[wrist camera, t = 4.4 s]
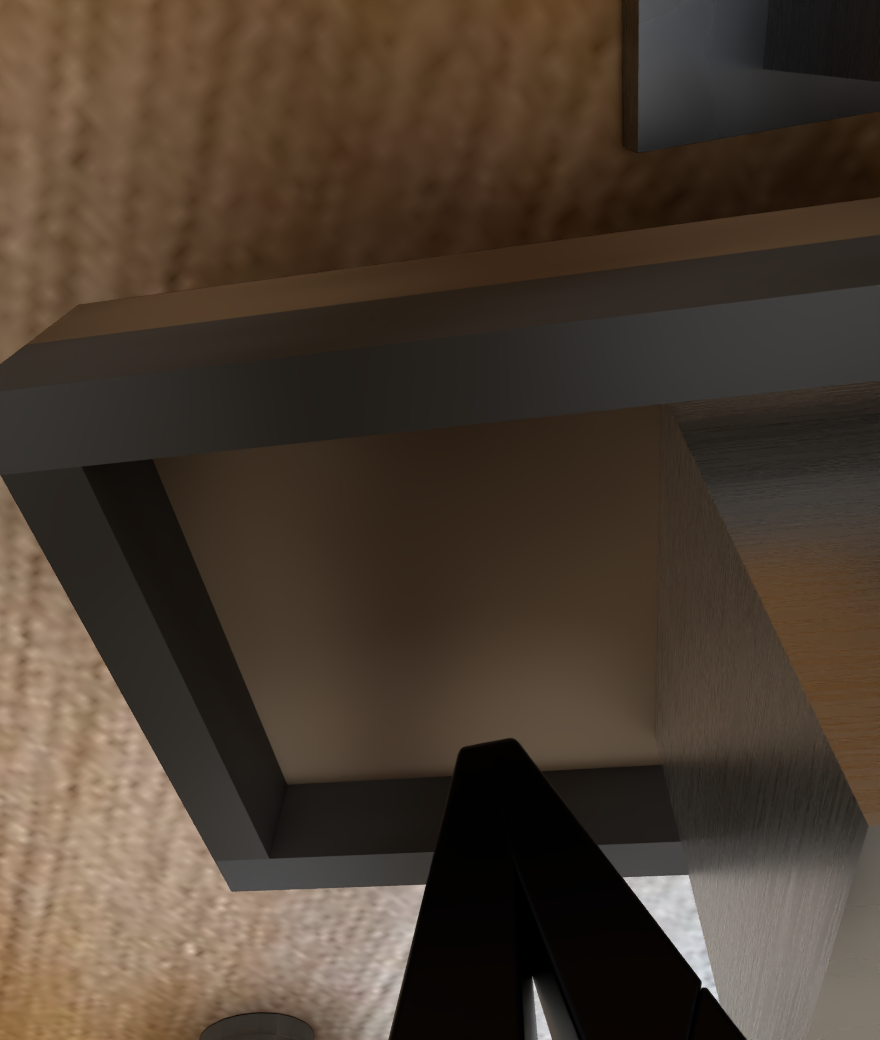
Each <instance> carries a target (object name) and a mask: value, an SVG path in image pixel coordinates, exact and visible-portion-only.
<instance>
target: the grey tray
mask: <svg viewBox="0 0 880 1040" xmlns="http://www.w3.org/2000/svg"><path fill="white" fill-rule="evenodd" d="M872 381H880V197H878V198H870V199H863V200H855V201H848V202H841V203H833V204H826V205H818V206H811V207H803V208H796V209H788V210H781V211H773V212H766V213H759V214H751V215H744V216H736V217H729V218H721V219H714V220H706V221H699V222H691V223H684V224H677V225H669V226H662V227H654V228H647V229H639V230H632V231H624V232H617V233H609V234H602V235H595V236H587V237H580V238H572V239H565V240H557V241H550V242H542V243H535V244H527V245H520V246H513V247H505V248H498V249H490V250H483V251H475V252H468V253H460V254H453V255H445V256H438V257H431V258H423V259H416V260H408V261H401V262H393V263H386V264H378V265H371V266H363V267H356V268H349V269H341V270H334V271H326V272H319V273H311V274H304V275H296V276H289V277H281V278H274V279H267V280H259V281H252V282H244V283H237V284H229V285H222V286H214V287H207V288H200V289H192V290H185V291H177V292H170V293H162V294H155V295H147V296H140V297H132V298H125V299H118V300H110V301H103V302H95V303H88V304H80V305H78V306H76V307H75V308H74V309H72V310H71V311H70V312H69V313H67V314H66V315H65V316H63V317H62V318H61V319H59V320H58V321H57V322H55V323H54V324H53V325H51V326H50V327H49V328H47V329H46V330H45V331H43V332H42V333H41V334H40V335H38V336H37V337H36V338H34V339H33V340H32V341H30V342H29V343H28V344H26V345H25V346H24V347H22V348H21V349H20V350H18V351H17V352H16V353H14V354H13V355H12V356H11V357H9V358H8V359H7V360H5V361H4V362H3V363H1V364H0V475H1V477H2V478H3V480H4V482H5V484H6V486H7V487H8V489H9V491H10V493H11V495H12V496H13V498H14V500H15V502H16V504H17V505H18V507H19V509H20V511H21V513H22V514H23V516H24V518H25V520H26V522H27V523H28V525H29V527H30V529H31V531H32V532H33V534H34V536H35V538H36V540H37V541H38V543H39V545H40V547H41V549H42V550H43V552H44V554H45V556H46V558H47V560H48V561H49V563H50V565H51V567H52V569H53V570H54V572H55V574H56V576H57V578H58V579H59V581H60V583H61V585H62V587H63V588H64V590H65V592H66V594H67V596H68V597H69V599H70V601H71V603H72V605H73V606H74V608H75V610H76V612H77V614H78V615H79V617H80V619H81V621H82V623H83V624H84V626H85V628H86V630H87V632H88V633H89V635H90V637H91V639H92V641H93V642H94V644H95V646H96V648H97V650H98V652H99V653H100V655H101V657H102V659H103V661H104V662H105V664H106V666H107V668H108V670H109V671H110V673H111V675H112V677H113V679H114V680H115V682H116V684H117V686H118V688H119V689H120V691H121V693H122V695H123V697H124V698H125V700H126V702H127V704H128V706H129V707H130V709H131V711H132V713H133V715H134V716H135V718H136V720H137V722H138V724H139V725H140V727H141V729H142V731H143V733H144V734H145V736H146V738H147V740H148V742H149V743H150V745H151V747H152V749H153V751H154V753H155V754H156V756H157V758H158V760H159V762H160V763H161V765H162V767H163V769H164V771H165V772H166V774H167V776H168V778H169V780H170V781H171V783H172V785H173V787H174V789H175V790H176V792H177V794H178V796H179V798H180V799H181V801H182V803H183V805H184V807H185V808H186V810H187V812H188V814H189V816H190V817H191V819H192V821H193V823H194V825H195V826H196V828H197V830H198V832H199V834H200V835H201V837H202V839H203V841H204V843H205V845H206V846H207V848H208V850H209V852H210V854H211V855H212V857H213V859H214V861H215V863H216V864H217V866H218V868H219V870H220V872H221V873H222V875H223V877H224V879H225V881H226V882H227V884H228V886H229V888H230V890H231V891H232V892H236V891H263V890H290V889H317V888H344V887H371V886H398V885H425V884H426V883H427V879H428V875H429V871H430V866H431V862H432V858H433V854H434V850H435V846H436V842H437V838H438V833H439V829H440V825H441V821H442V817H443V813H444V809H445V805H446V801H447V796H448V792H449V788H450V784H451V780H452V776H453V772H454V768H455V763H456V759H457V755H458V752H459V751H460V749H461V748H462V747H464V746H469V745H474V744H480V743H485V742H490V741H495V740H500V739H506V738H514V739H516V740H517V741H518V742H519V743H520V744H521V745H522V747H523V748H524V749H525V751H526V752H527V753H528V755H529V756H530V757H531V759H532V760H533V761H534V762H535V764H536V765H537V766H538V768H539V769H540V770H541V772H542V773H543V774H544V776H545V777H546V778H547V780H548V781H549V782H550V783H551V785H552V786H553V787H554V789H555V790H556V791H557V793H558V794H559V795H560V797H561V798H562V799H563V800H564V802H565V803H566V804H567V806H568V807H569V808H570V810H571V811H572V812H573V814H574V815H575V816H576V817H577V819H578V820H579V821H580V823H581V824H582V825H583V827H584V828H585V829H586V831H587V832H588V833H589V834H590V836H591V837H592V838H593V840H594V841H595V842H596V844H597V845H598V846H599V848H600V849H601V850H602V852H603V853H604V854H605V855H606V857H607V858H608V859H609V861H610V862H611V863H612V865H613V866H614V867H615V869H616V870H617V871H618V872H619V874H620V875H621V876H622V877H641V876H668V875H689V874H688V870H687V866H686V862H685V857H684V853H683V849H682V845H681V841H680V837H679V833H678V829H677V825H676V820H675V816H674V812H673V808H672V804H671V800H670V796H669V792H668V787H667V783H666V779H665V775H664V771H663V767H662V763H661V759H660V755H659V750H658V746H657V742H656V738H655V700H656V645H657V590H658V535H659V480H660V425H661V404H667V403H677V402H686V401H695V400H705V399H714V398H723V397H732V396H742V395H751V394H760V393H770V392H779V391H788V390H797V389H807V388H816V387H825V386H835V385H844V384H853V383H863V382H872Z"/></svg>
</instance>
